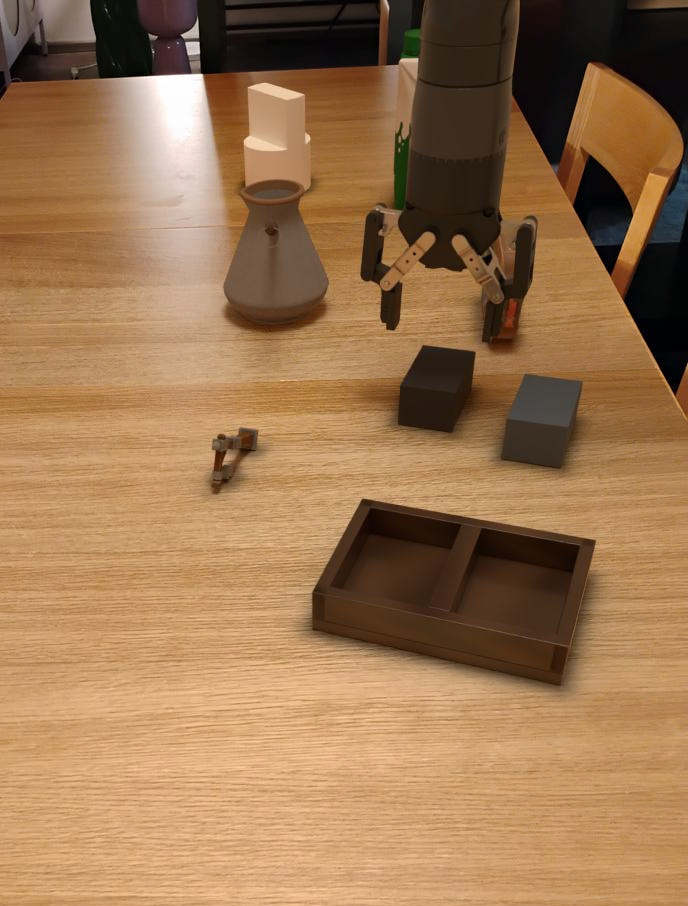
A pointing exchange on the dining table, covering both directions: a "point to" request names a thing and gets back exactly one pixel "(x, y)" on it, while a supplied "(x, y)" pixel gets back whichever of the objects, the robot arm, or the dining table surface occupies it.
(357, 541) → the divided wooden tray
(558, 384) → the pad
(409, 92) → the milk carton
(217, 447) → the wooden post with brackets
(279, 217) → the coffee pot
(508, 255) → the tin
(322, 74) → the dining table surface
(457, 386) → the dark brown rectangular block
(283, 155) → the cylinder with rectangular tab
